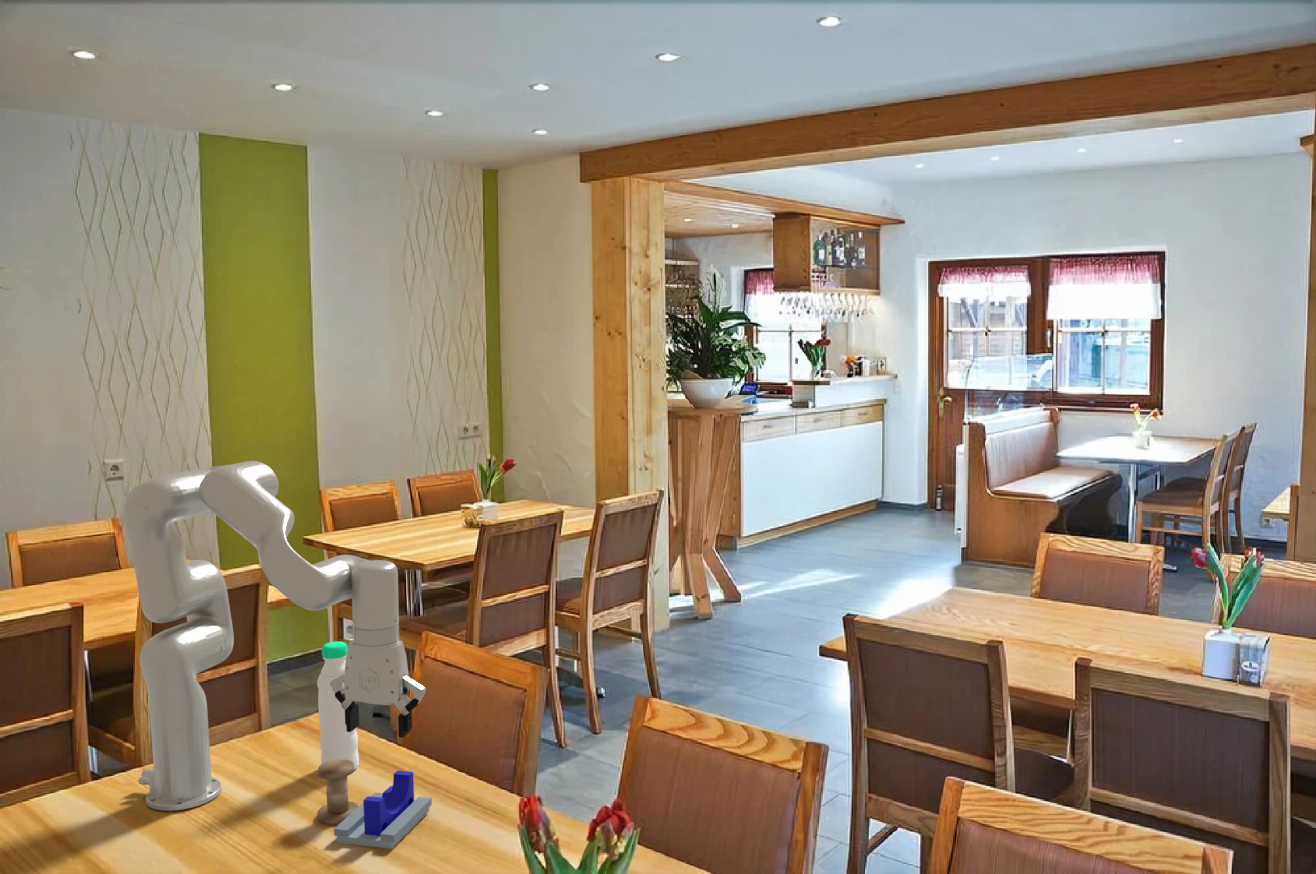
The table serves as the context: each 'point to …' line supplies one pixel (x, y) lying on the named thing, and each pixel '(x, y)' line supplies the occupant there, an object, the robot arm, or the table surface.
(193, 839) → the table surface
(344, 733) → the water bottle
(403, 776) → the cable clip
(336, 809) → the door knob
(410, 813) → the notched board
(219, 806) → the table surface
